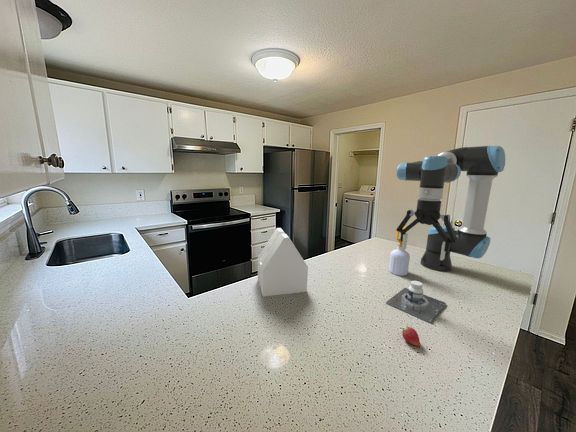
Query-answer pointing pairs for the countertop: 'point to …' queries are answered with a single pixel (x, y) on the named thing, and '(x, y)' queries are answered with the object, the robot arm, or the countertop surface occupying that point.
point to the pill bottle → (415, 292)
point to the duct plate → (419, 314)
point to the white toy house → (281, 267)
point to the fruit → (411, 336)
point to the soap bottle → (399, 259)
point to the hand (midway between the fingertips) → (421, 254)
